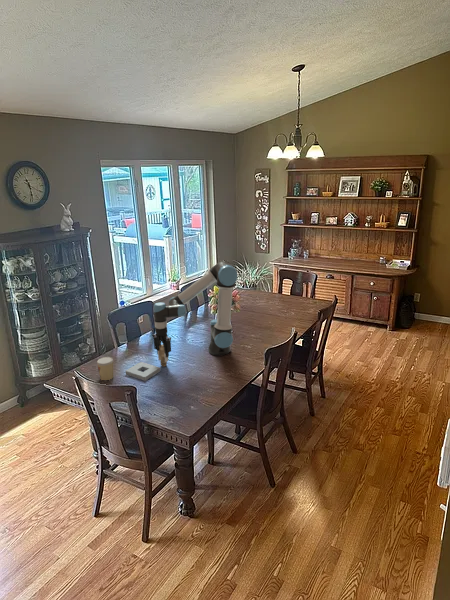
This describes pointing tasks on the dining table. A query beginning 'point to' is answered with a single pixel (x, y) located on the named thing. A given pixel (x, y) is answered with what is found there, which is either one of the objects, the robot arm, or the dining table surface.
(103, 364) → the coffee cup
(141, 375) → the board
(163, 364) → the beech peg
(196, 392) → the dining table surface
